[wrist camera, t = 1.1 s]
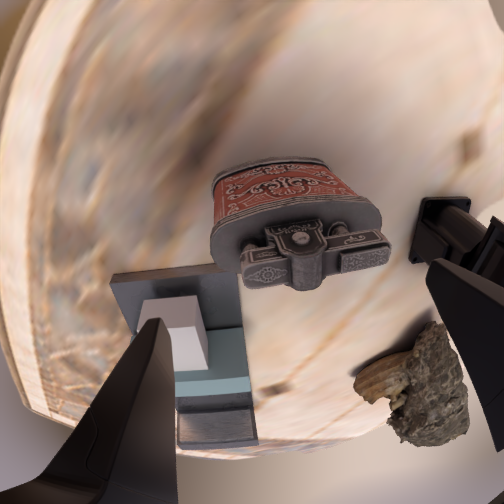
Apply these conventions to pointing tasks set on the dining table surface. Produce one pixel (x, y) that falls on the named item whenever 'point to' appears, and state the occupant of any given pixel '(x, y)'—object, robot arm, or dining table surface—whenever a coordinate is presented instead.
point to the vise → (214, 318)
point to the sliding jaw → (200, 349)
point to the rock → (421, 389)
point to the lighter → (292, 224)
